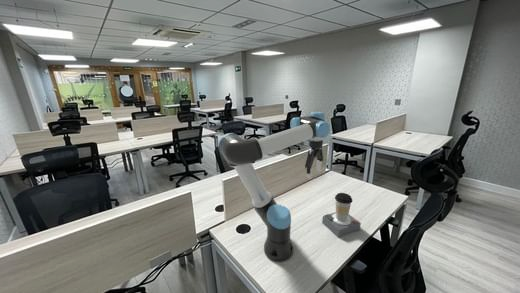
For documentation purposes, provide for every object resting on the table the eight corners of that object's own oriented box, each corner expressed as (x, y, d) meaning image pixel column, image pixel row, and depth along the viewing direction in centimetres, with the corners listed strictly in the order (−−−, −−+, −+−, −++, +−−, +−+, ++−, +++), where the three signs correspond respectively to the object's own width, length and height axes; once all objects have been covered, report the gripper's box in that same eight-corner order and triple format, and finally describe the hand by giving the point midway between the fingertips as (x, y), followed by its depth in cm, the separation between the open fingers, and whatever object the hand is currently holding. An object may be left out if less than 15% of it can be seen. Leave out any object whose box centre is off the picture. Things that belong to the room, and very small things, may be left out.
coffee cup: (340, 225, 116) (342, 201, 112) (329, 215, 125) (331, 193, 120) (353, 221, 119) (356, 198, 115) (342, 212, 127) (344, 191, 123)
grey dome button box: (338, 237, 114) (339, 228, 112) (322, 223, 127) (322, 214, 125) (359, 230, 120) (361, 221, 118) (342, 216, 132) (343, 208, 131)
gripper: (313, 145, 103) (310, 183, 109) (330, 136, 122) (327, 169, 128) (299, 143, 107) (298, 180, 113) (318, 134, 126) (316, 166, 132)
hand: (313, 174), depth 120 cm, fingers open, 13 cm apart
